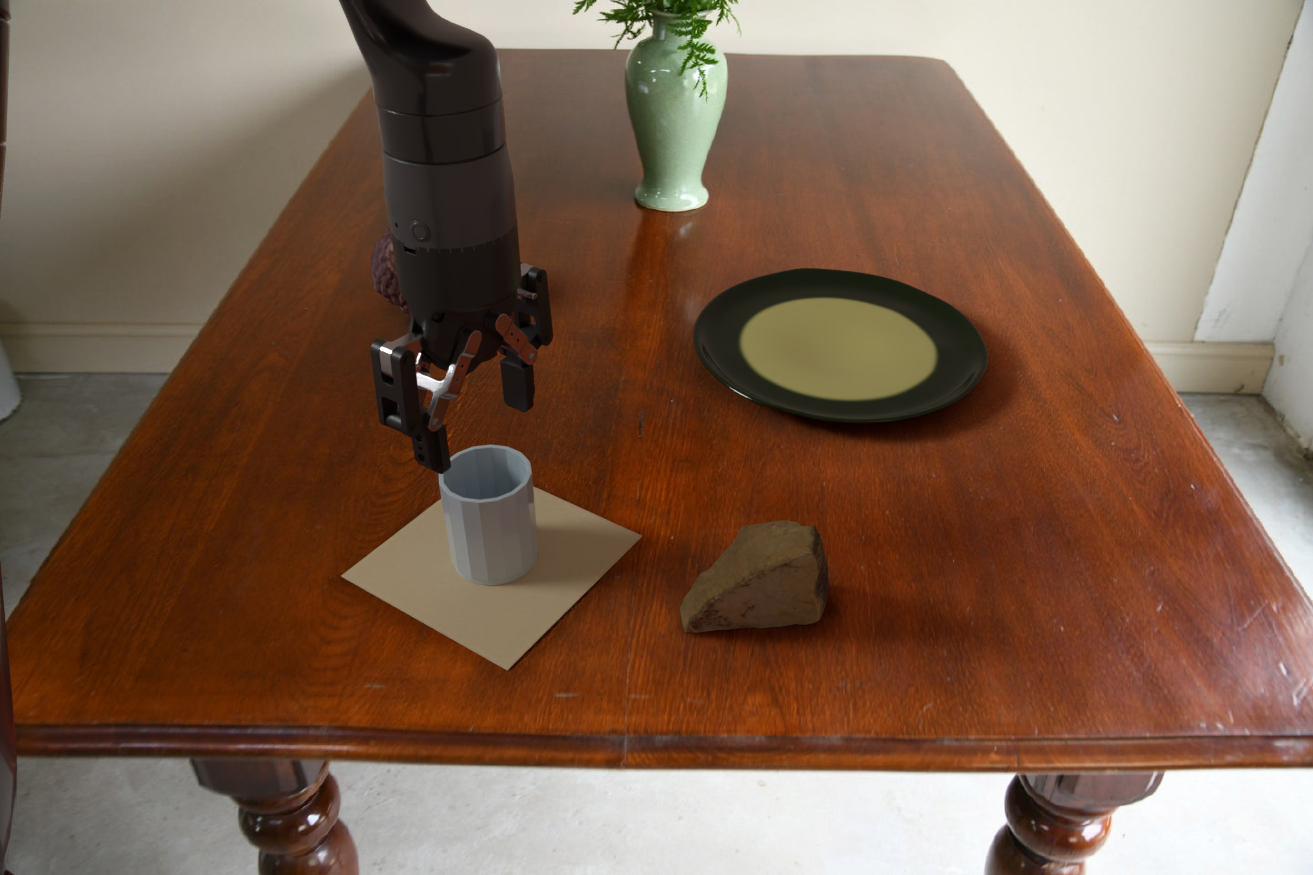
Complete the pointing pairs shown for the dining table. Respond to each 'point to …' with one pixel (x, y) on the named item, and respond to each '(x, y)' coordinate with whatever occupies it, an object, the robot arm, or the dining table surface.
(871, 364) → the plate
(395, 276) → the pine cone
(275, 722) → the dining table surface
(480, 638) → the mat
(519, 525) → the cup
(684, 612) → the rock
